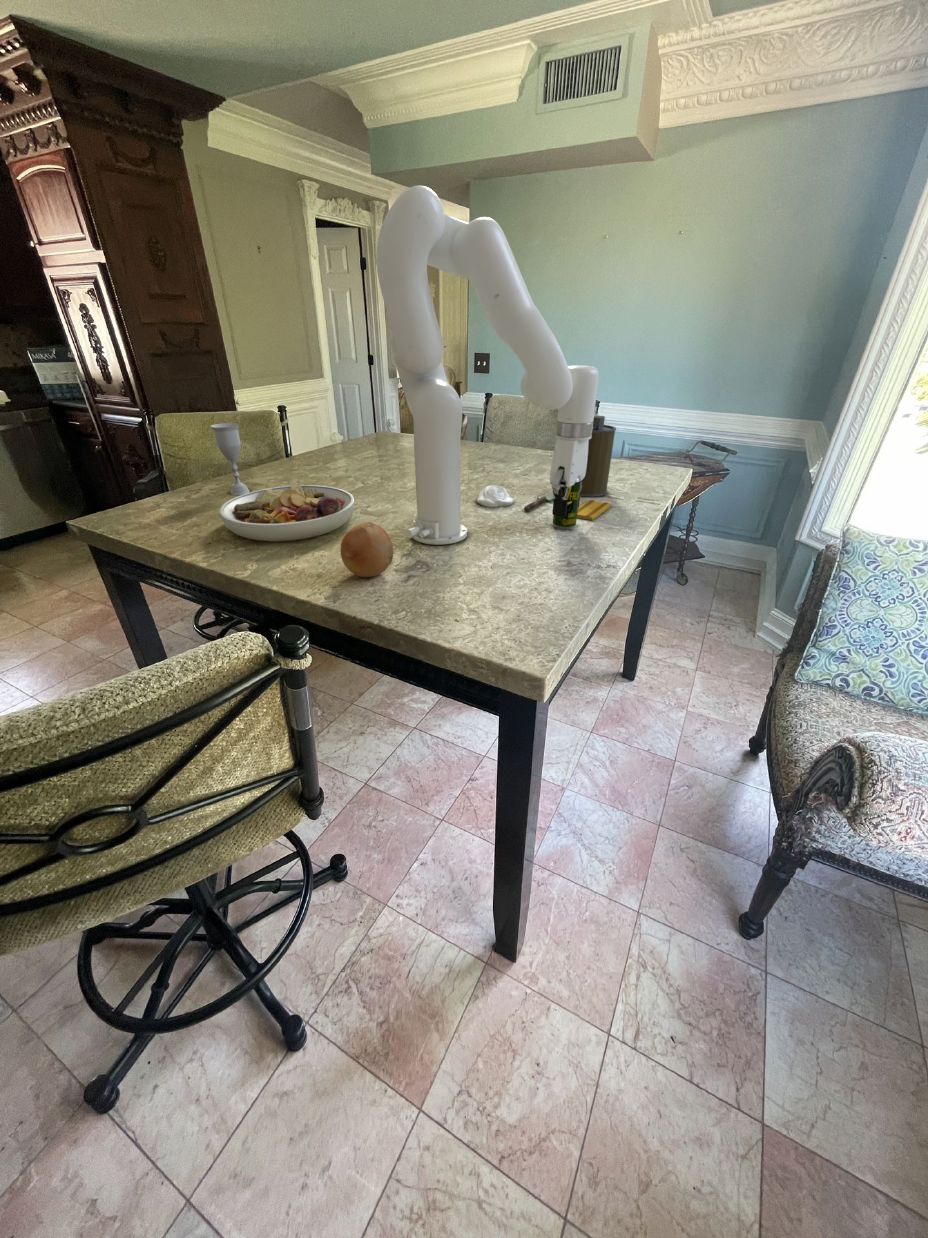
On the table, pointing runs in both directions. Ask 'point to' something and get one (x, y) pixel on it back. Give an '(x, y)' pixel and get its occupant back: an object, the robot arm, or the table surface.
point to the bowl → (288, 512)
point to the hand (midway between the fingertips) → (565, 510)
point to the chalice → (230, 450)
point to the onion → (366, 550)
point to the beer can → (569, 507)
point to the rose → (494, 497)
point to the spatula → (540, 501)
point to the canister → (598, 459)
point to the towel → (592, 509)
